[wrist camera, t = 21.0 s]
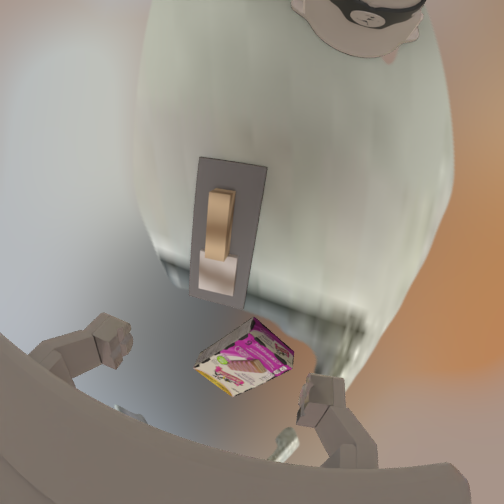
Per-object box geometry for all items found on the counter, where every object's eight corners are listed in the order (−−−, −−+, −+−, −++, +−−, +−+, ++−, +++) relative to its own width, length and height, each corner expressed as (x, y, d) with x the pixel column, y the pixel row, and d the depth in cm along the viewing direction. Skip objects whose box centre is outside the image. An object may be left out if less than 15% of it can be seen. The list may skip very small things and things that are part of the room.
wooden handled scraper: (206, 186, 40) (199, 190, 37) (246, 192, 39) (241, 196, 37) (200, 285, 47) (194, 294, 44) (234, 293, 46) (229, 302, 44)
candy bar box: (293, 370, 45) (233, 398, 52) (295, 351, 50) (238, 381, 57) (247, 333, 43) (191, 368, 50) (253, 314, 48) (199, 351, 55)
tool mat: (200, 157, 39) (199, 157, 38) (267, 167, 38) (266, 167, 37) (190, 293, 49) (188, 295, 49) (243, 307, 48) (243, 309, 47)
